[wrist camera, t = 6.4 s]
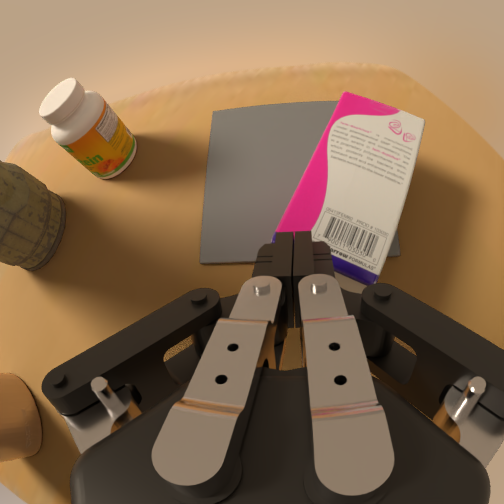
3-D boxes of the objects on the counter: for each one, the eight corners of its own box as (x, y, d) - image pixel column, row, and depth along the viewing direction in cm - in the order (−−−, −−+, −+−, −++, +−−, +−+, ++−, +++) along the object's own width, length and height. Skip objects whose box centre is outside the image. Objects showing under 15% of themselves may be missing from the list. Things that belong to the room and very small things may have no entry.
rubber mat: (200, 263, 22) (199, 262, 22) (213, 113, 26) (212, 111, 26) (399, 256, 20) (400, 255, 19) (368, 103, 24) (369, 100, 23)
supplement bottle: (86, 181, 27) (23, 129, 18) (104, 137, 28) (51, 80, 19) (128, 179, 26) (63, 116, 17) (145, 132, 27) (94, 64, 18)
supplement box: (358, 302, 19) (409, 163, 21) (375, 288, 14) (429, 116, 15) (280, 266, 21) (341, 137, 23) (266, 240, 15) (343, 85, 17)
